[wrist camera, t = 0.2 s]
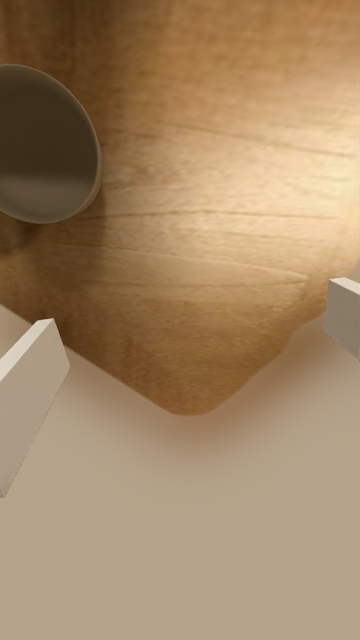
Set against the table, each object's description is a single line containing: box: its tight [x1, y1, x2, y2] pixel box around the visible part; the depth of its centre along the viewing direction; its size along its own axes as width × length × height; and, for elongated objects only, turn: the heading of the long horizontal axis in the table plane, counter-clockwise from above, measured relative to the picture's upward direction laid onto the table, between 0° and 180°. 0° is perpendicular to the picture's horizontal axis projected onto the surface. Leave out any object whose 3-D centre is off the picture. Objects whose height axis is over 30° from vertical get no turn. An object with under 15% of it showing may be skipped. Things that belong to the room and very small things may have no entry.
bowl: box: [0, 64, 104, 224], centre depth 29 cm, size 13×13×10 cm
